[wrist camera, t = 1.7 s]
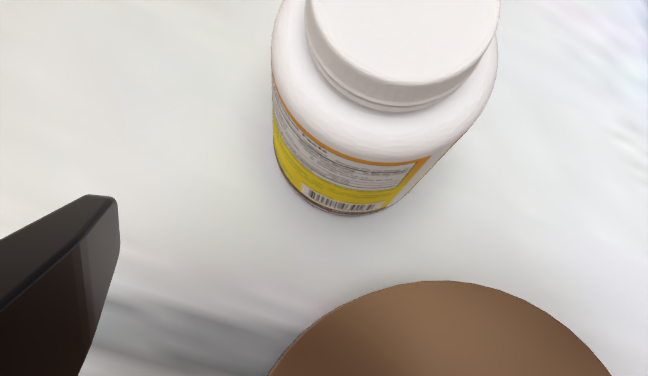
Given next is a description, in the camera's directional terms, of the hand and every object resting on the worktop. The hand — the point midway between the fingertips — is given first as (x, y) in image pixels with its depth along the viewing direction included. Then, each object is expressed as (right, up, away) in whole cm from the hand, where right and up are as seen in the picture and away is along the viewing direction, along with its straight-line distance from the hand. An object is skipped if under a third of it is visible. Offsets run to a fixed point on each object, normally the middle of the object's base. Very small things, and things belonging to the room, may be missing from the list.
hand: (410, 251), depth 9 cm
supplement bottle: (0, +3, +13) cm, 13 cm away
